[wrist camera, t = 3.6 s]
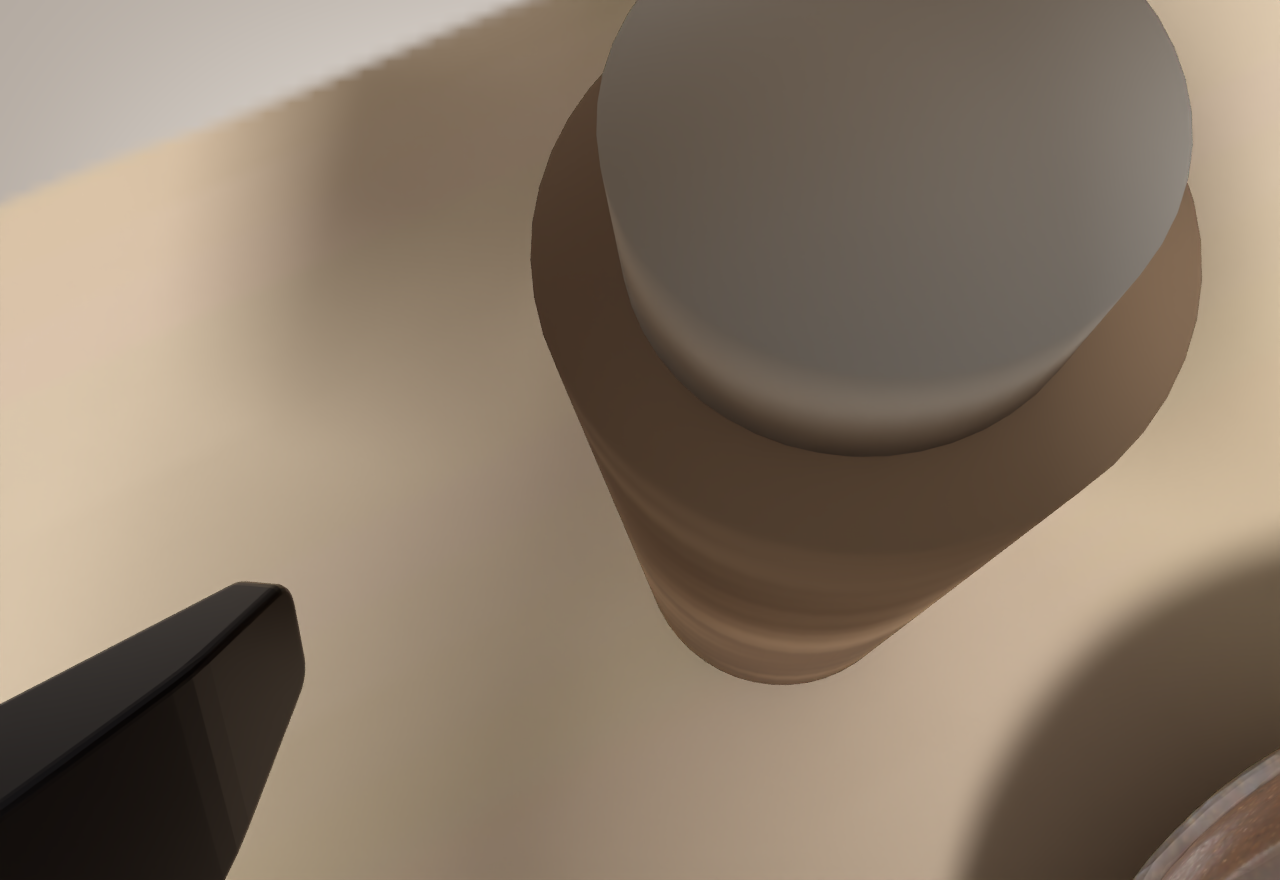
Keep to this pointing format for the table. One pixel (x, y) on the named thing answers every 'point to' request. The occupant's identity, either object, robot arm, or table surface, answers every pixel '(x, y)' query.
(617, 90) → the pepper mill
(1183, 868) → the plant saucer
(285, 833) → the table surface
